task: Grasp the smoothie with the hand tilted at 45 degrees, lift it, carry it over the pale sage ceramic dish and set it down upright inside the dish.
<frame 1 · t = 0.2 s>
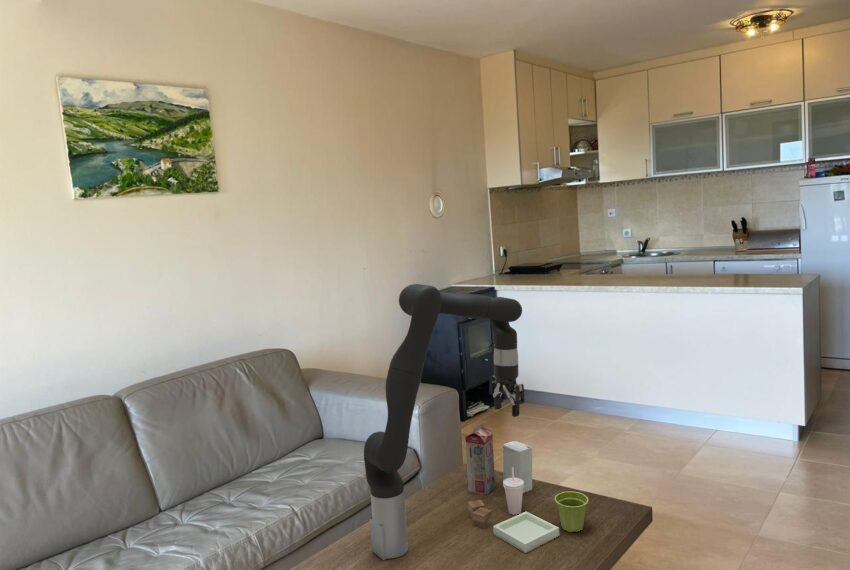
hand: (506, 412, 197), 29 cm above the table, tool pointing down, fingers open, 8 cm apart
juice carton: (482, 489, 209), on the table
skincare box: (518, 489, 208), on the table
plant pot: (572, 528, 181), on the table
walnut block b: (477, 516, 191), on the table
smoothie: (514, 512, 192), on the table
dish: (526, 535, 178), on the table
walnut block a: (482, 524, 186), on the table
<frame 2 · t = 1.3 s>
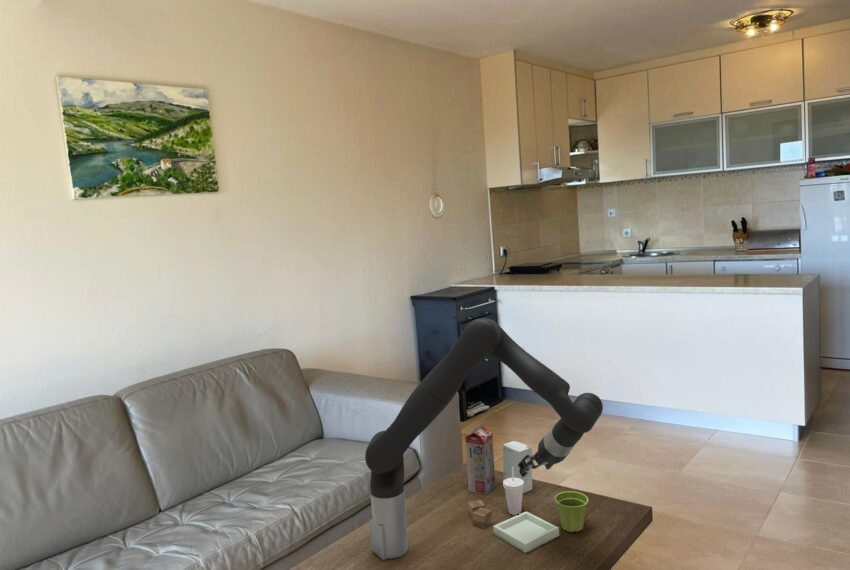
hand: (534, 470, 180), 17 cm above the table, tool tilted 45°, fingers open, 8 cm apart
nothing on the table moved.
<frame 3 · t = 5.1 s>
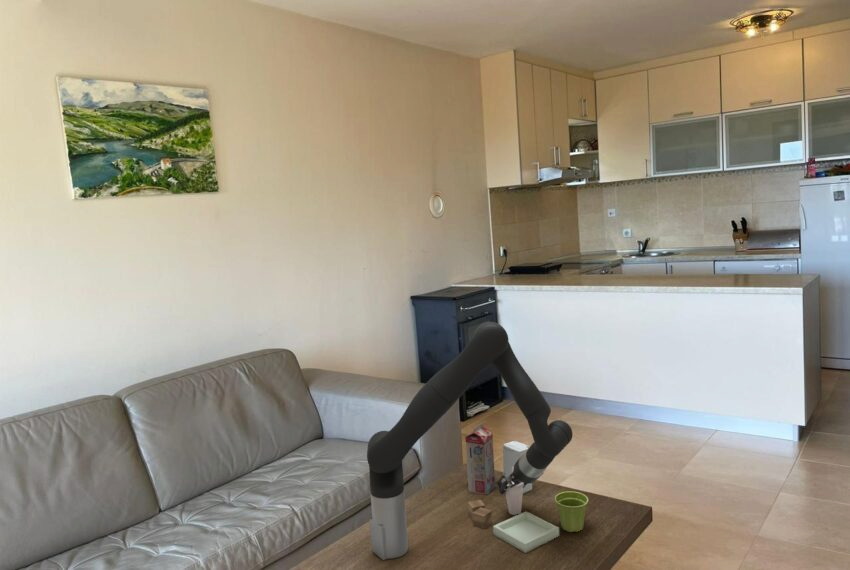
hand: (510, 488, 193), 7 cm above the table, tool tilted 45°, fingers closed on smoothie, 6 cm apart
smoothie: (514, 512, 192), on the table, touching gripper
everything else where it was.
when the fingers open (9 cm above the table, at t = 10.7 s): smoothie drops 1 cm, resting on dish.
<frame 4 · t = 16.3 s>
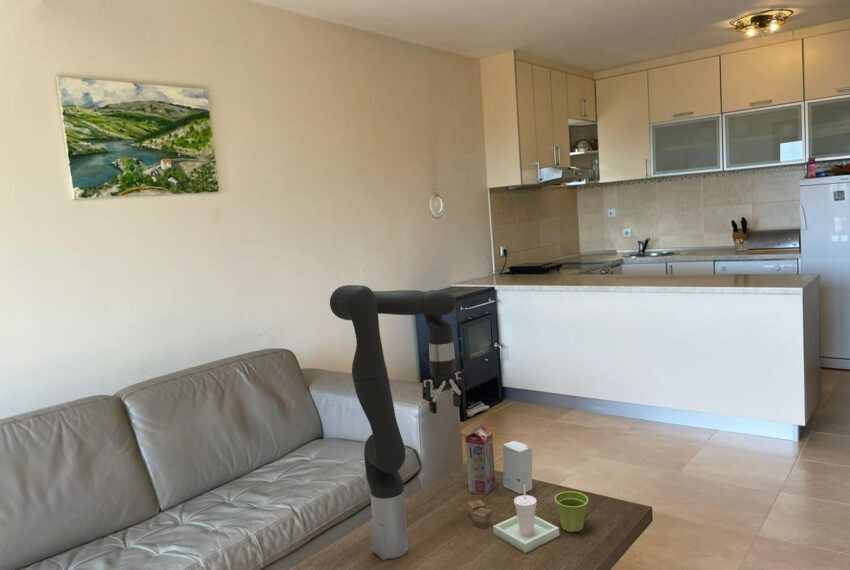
hand: (445, 409, 189), 33 cm above the table, tool pointing down, fingers open, 8 cm apart
smoothie: (526, 533, 178), point 1 cm above the table, touching dish
everything else where it was.
at the end: smoothie inside the target area on the dish (0.2 cm from its centre), point 0.6 cm above the dish's base; smoothie tilted 0°; the gripper is holding nothing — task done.
